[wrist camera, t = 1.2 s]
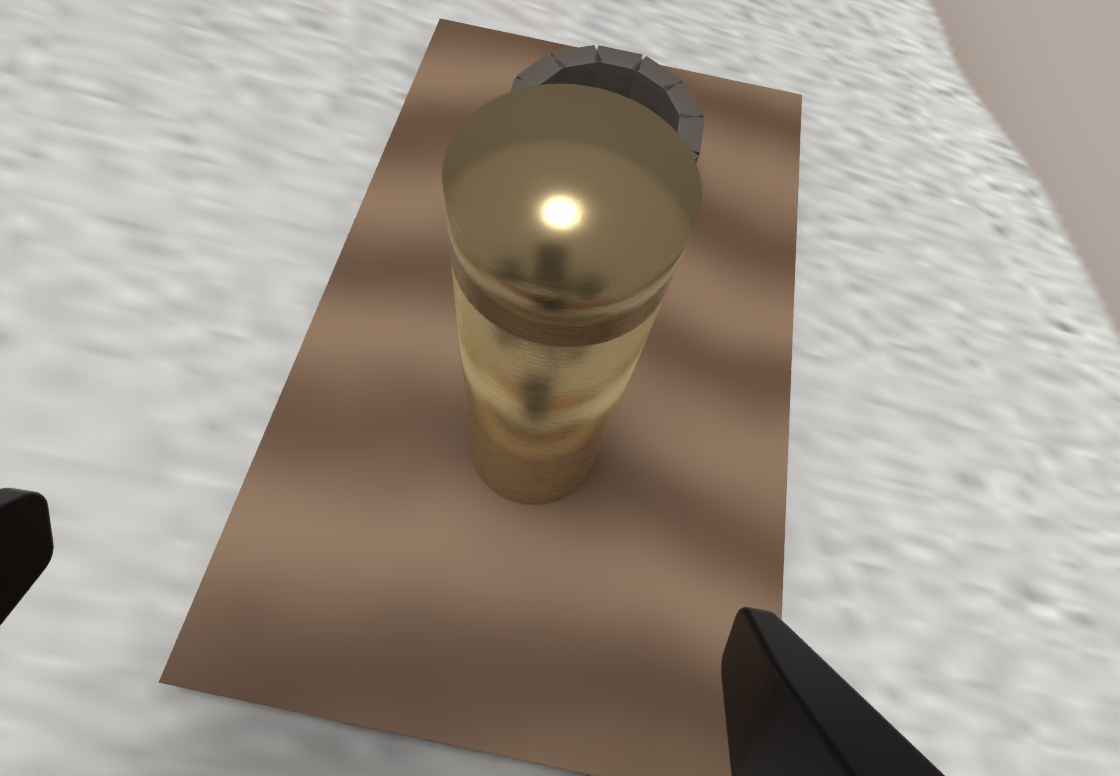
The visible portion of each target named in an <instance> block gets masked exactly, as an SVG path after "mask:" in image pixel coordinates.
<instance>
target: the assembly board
mask: <svg viewBox="0 0 1120 776" xmlns="http://www.w3.org/2000/svg"><path fill="white" fill-rule="evenodd" d="M543 84H577V85H584V86H591V87H595V88H600V89H604V90H608V91H611V92H614V93H617V94H620V95H622V96H625V97H627V98H629V99H632V100H634V101H636V102H638V103H639V104H641V105H643V106H645V107H647V108H648V109H650V110H651V111H653V112H654V113H655V114H657V115H658V116H660V117H661V118H662V119H663V120H664V121H665V122H667V123H668V124H669V125H670V126H671V127H672V128H673V129H674V130H675V131H676V132H677V133H678V135H679V136H680V137H681V138H682V140H683V141H684V142H685V144H686V145H687V147H688V148H689V150H690V152H691V154H692V156H693V158H694V160H695V162H696V165H697V168H698V171H699V175H700V180H701V185H702V200H701V207H700V212H699V215H698V218H697V221H696V224H695V226H694V229H693V231H692V233H691V236H690V238H689V241H688V243H687V245H686V248H685V250H684V252H683V255H682V257H681V259H680V262H679V264H678V267H677V269H676V271H675V274H674V276H673V278H672V281H671V283H670V285H669V288H668V290H667V293H666V295H665V297H664V300H663V302H662V304H661V307H660V309H659V311H658V314H657V316H656V318H655V321H654V323H653V326H652V328H651V330H650V333H649V335H648V337H647V340H646V342H645V344H644V347H643V349H642V352H641V354H640V356H639V359H638V361H637V363H636V366H635V368H634V370H633V373H632V375H631V378H630V380H629V382H628V385H627V387H626V389H625V392H624V394H623V396H622V399H621V401H620V403H619V406H618V408H617V411H616V413H615V415H614V418H613V420H612V422H611V425H610V427H609V429H608V432H607V434H606V437H605V439H604V441H603V444H602V446H601V448H600V451H599V453H598V455H597V458H596V460H595V463H594V465H593V467H592V469H591V471H590V473H589V475H588V477H587V478H586V480H585V481H584V482H583V484H582V485H581V486H580V487H579V488H578V489H577V490H575V491H574V492H573V493H572V494H570V495H568V496H567V497H565V498H563V499H561V500H558V501H556V502H552V503H549V504H543V505H526V504H520V503H516V502H513V501H510V500H508V499H506V498H504V497H502V496H500V495H498V494H497V493H496V492H494V491H493V490H492V489H491V488H490V487H488V486H487V485H486V483H485V482H484V481H483V480H482V479H481V477H480V475H479V474H478V472H477V470H476V468H475V465H474V463H473V459H472V455H471V447H470V438H469V428H468V419H467V410H466V400H465V391H464V381H463V372H462V362H461V353H460V343H459V334H458V325H457V315H456V306H455V296H454V287H453V277H452V268H451V258H450V249H449V239H448V230H447V221H446V211H445V202H444V192H443V183H442V168H443V162H444V157H445V153H446V150H447V147H448V145H449V142H450V140H451V139H452V137H453V135H454V134H455V132H456V130H457V129H458V128H459V127H460V125H461V124H462V123H463V122H464V121H465V119H466V118H468V117H469V116H470V115H471V114H472V113H473V112H474V111H475V110H477V109H478V108H480V107H481V106H483V105H484V104H486V103H487V102H489V101H491V100H493V99H495V98H497V97H499V96H501V95H503V94H506V93H509V92H511V91H514V90H518V89H522V88H526V87H530V86H537V85H543ZM801 105H802V95H800V94H795V93H791V92H786V91H781V90H776V89H772V88H767V87H762V86H757V85H753V84H748V83H743V82H739V81H734V80H729V79H724V78H720V77H715V76H710V75H705V74H701V73H696V72H691V71H686V70H682V69H677V68H672V67H667V66H663V65H659V64H658V63H656V62H655V61H653V60H651V59H650V58H648V57H647V56H646V57H645V58H644V59H642V54H637V53H632V52H628V51H623V50H618V49H613V48H609V47H604V46H599V45H598V49H597V50H596V48H595V46H594V45H592V46H586V47H580V48H577V47H573V46H568V45H563V44H558V43H554V42H549V41H544V40H539V39H535V38H530V37H525V36H520V35H516V34H511V33H506V32H501V31H497V30H492V29H487V28H483V27H478V26H473V25H468V24H464V23H459V22H454V21H449V20H445V19H440V20H439V22H438V25H437V27H436V29H435V32H434V34H433V36H432V39H431V41H430V43H429V46H428V48H427V50H426V53H425V55H424V58H423V60H422V62H421V65H420V67H419V69H418V72H417V74H416V76H415V79H414V81H413V83H412V86H411V88H410V91H409V93H408V95H407V98H406V100H405V102H404V105H403V107H402V109H401V112H400V114H399V117H398V119H397V121H396V124H395V126H394V128H393V131H392V133H391V135H390V138H389V140H388V142H387V145H386V147H385V150H384V152H383V154H382V157H381V159H380V161H379V164H378V166H377V168H376V171H375V173H374V176H373V178H372V180H371V183H370V185H369V187H368V190H367V192H366V194H365V197H364V199H363V201H362V204H361V206H360V209H359V211H358V213H357V216H356V218H355V220H354V223H353V225H352V227H351V230H350V232H349V235H348V237H347V239H346V242H345V244H344V246H343V249H342V251H341V253H340V256H339V258H338V260H337V263H336V265H335V268H334V270H333V272H332V275H331V277H330V279H329V282H328V284H327V286H326V289H325V291H324V293H323V296H322V298H321V301H320V303H319V305H318V308H317V310H316V312H315V315H314V317H313V319H312V322H311V324H310V327H309V329H308V331H307V334H306V336H305V338H304V341H303V343H302V345H301V348H300V350H299V352H298V355H297V357H296V360H295V362H294V364H293V367H292V369H291V371H290V374H289V376H288V378H287V381H286V383H285V386H284V388H283V390H282V393H281V395H280V397H279V400H278V402H277V404H276V407H275V409H274V411H273V414H272V416H271V419H270V421H269V423H268V426H267V428H266V430H265V433H264V435H263V437H262V440H261V442H260V445H259V447H258V449H257V452H256V454H255V456H254V459H253V461H252V463H251V466H250V468H249V470H248V473H247V475H246V478H245V480H244V482H243V485H242V487H241V489H240V492H239V494H238V496H237V499H236V501H235V503H234V506H233V508H232V511H231V513H230V515H229V518H228V520H227V522H226V525H225V527H224V529H223V532H222V534H221V537H220V539H219V541H218V544H217V546H216V548H215V551H214V553H213V555H212V558H211V560H210V562H209V565H208V567H207V570H206V572H205V574H204V577H203V579H202V581H201V584H200V586H199V588H198V591H197V593H196V596H195V598H194V600H193V603H192V605H191V607H190V610H189V612H188V614H187V617H186V619H185V621H184V624H183V626H182V629H181V631H180V633H179V636H178V638H177V640H176V643H175V645H174V647H173V650H172V652H171V655H170V657H169V659H168V662H167V664H166V666H165V669H164V671H163V673H162V676H161V678H160V680H159V683H163V684H168V685H173V686H177V687H182V688H187V689H192V690H196V691H201V692H206V693H210V694H215V695H220V696H224V697H229V698H234V699H238V700H243V701H248V702H252V703H257V704H262V705H266V706H271V707H276V708H280V709H285V710H290V711H294V712H299V713H304V714H308V715H313V716H318V717H322V718H327V719H332V720H336V721H341V722H346V723H350V724H355V725H360V726H364V727H369V728H374V729H378V730H383V731H388V732H392V733H397V734H402V735H406V736H411V737H416V738H420V739H425V740H430V741H434V742H439V743H444V744H448V745H453V746H458V747H462V748H467V749H472V750H476V751H481V752H486V753H490V754H495V755H500V756H504V757H509V758H514V759H518V760H523V761H528V762H532V763H537V764H542V765H546V766H551V767H556V768H560V769H565V770H570V771H574V772H579V773H584V774H588V775H593V776H731V768H730V758H729V748H728V738H727V728H726V718H725V708H724V698H723V688H722V678H721V661H722V655H723V652H724V649H725V646H726V643H727V640H728V637H729V634H730V631H731V628H732V625H733V622H734V619H735V616H736V614H737V612H738V611H739V609H741V608H743V607H751V608H757V609H763V610H769V611H772V612H773V613H775V614H776V615H777V616H778V617H779V618H780V619H782V593H783V567H784V542H785V516H786V490H787V464H788V439H789V413H790V387H791V362H792V336H793V310H794V284H795V259H796V233H797V207H798V182H799V156H800V130H801Z"/></svg>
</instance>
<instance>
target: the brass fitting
mask: <svg viewBox="0 0 1120 776" xmlns="http://www.w3.org/2000/svg"><path fill="white" fill-rule="evenodd" d="M442 183H443V192H444V202H445V211H446V221H447V230H448V239H449V249H450V258H451V268H452V277H453V287H454V296H455V306H456V315H457V325H458V334H459V343H460V353H461V362H462V372H463V381H464V391H465V400H466V410H467V419H468V428H469V438H470V447H471V455H472V459H473V463H474V465H475V468H476V470H477V472H478V474H479V475H480V477H481V479H482V480H483V481H484V482H485V483H486V485H487V486H488V487H490V488H491V489H492V490H493V491H494V492H496V493H497V494H498V495H500V496H502V497H504V498H506V499H508V500H510V501H513V502H516V503H520V504H526V505H543V504H549V503H552V502H556V501H558V500H561V499H563V498H565V497H567V496H568V495H570V494H572V493H573V492H574V491H575V490H577V489H578V488H579V487H580V486H581V485H582V484H583V482H584V481H585V480H586V478H587V477H588V475H589V473H590V471H591V469H592V467H593V465H594V463H595V460H596V458H597V455H598V453H599V451H600V448H601V446H602V444H603V441H604V439H605V437H606V434H607V432H608V429H609V427H610V425H611V422H612V420H613V418H614V415H615V413H616V411H617V408H618V406H619V403H620V401H621V399H622V396H623V394H624V392H625V389H626V387H627V385H628V382H629V380H630V378H631V375H632V373H633V370H634V368H635V366H636V363H637V361H638V359H639V356H640V354H641V352H642V349H643V347H644V344H645V342H646V340H647V337H648V335H649V333H650V330H651V328H652V326H653V323H654V321H655V318H656V316H657V314H658V311H659V309H660V307H661V304H662V302H663V300H664V297H665V295H666V293H667V290H668V288H669V285H670V283H671V281H672V278H673V276H674V274H675V271H676V269H677V267H678V264H679V262H680V259H681V257H682V255H683V252H684V250H685V248H686V245H687V243H688V241H689V238H690V236H691V233H692V231H693V229H694V226H695V224H696V221H697V218H698V215H699V212H700V207H701V200H702V185H701V180H700V175H699V171H698V168H697V165H696V162H695V160H694V158H693V156H692V154H691V152H690V150H689V148H688V147H687V145H686V144H685V142H684V141H683V140H682V138H681V137H680V136H679V135H678V133H677V132H676V131H675V130H674V129H673V128H672V127H671V126H670V125H669V124H668V123H667V122H665V121H664V120H663V119H662V118H661V117H660V116H658V115H657V114H655V113H654V112H653V111H651V110H650V109H648V108H647V107H645V106H643V105H641V104H639V103H638V102H636V101H634V100H632V99H629V98H627V97H625V96H622V95H620V94H617V93H614V92H611V91H608V90H604V89H600V88H595V87H591V86H584V85H577V84H543V85H537V86H530V87H526V88H522V89H518V90H514V91H511V92H509V93H506V94H503V95H501V96H499V97H497V98H495V99H493V100H491V101H489V102H487V103H486V104H484V105H483V106H481V107H480V108H478V109H477V110H475V111H474V112H473V113H472V114H471V115H470V116H469V117H468V118H466V119H465V121H464V122H463V123H462V124H461V125H460V127H459V128H458V129H457V130H456V132H455V134H454V135H453V137H452V139H451V140H450V142H449V145H448V147H447V150H446V153H445V157H444V162H443V168H442Z"/></svg>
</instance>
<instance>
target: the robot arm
mask: <svg viewBox="0 0 1120 776" xmlns="http://www.w3.org/2000/svg"><path fill="white" fill-rule="evenodd" d="M53 548H54V545H53V537H52V530H51V523H50V516H49V509H48V503H47V500H46V499H45V497H44V496H43V495H42V494H40V493H38V492H33V491H27V490H21V489H15V488H2V489H0V625H1V624H2V623H3V621H4V620H5V619H6V618H7V616H8V615H9V614H10V613H11V611H12V610H13V609H14V608H15V606H16V605H17V604H18V603H19V601H20V600H21V599H22V597H23V596H24V595H25V594H26V592H27V591H28V590H29V589H30V587H31V586H32V585H33V584H34V582H35V581H36V580H37V579H38V577H39V576H40V575H41V574H42V572H43V571H44V570H45V568H46V567H47V565H48V564H49V562H50V560H51V557H52V554H53ZM721 678H722V688H723V698H724V708H725V718H726V728H727V738H728V748H729V758H730V768H731V776H945V775H944V774H943V773H942V772H941V771H940V770H938V769H937V768H936V767H935V766H934V765H933V764H932V763H931V762H930V761H929V760H928V759H927V758H926V757H925V756H924V755H923V754H922V753H921V752H920V751H919V750H918V749H916V748H915V747H914V746H913V745H912V744H911V743H910V742H909V741H908V740H907V739H906V738H905V737H904V736H903V735H902V734H901V733H900V732H899V731H898V730H897V729H895V728H894V727H893V726H892V725H891V724H890V723H889V722H888V721H887V720H886V719H885V718H884V717H883V716H882V715H881V714H880V713H879V712H878V711H877V710H876V709H875V708H873V707H872V706H871V705H870V704H869V703H868V702H867V701H866V700H865V699H864V698H863V697H862V696H861V695H860V694H859V693H858V692H857V691H856V690H855V689H854V688H852V687H851V686H850V685H849V684H848V683H847V682H846V681H845V680H844V679H843V678H842V677H841V676H840V675H839V674H838V673H837V672H836V671H835V670H834V669H833V668H832V667H830V666H829V665H828V664H827V663H826V662H825V661H824V660H823V659H822V658H821V657H820V656H819V655H818V654H817V653H816V652H815V651H814V650H813V649H812V648H811V647H809V646H808V645H807V644H806V643H805V642H804V641H803V640H802V639H801V638H800V637H799V636H798V635H797V634H796V633H795V632H794V631H793V630H792V629H791V628H790V627H789V626H787V625H786V624H785V623H784V622H783V621H782V620H781V619H780V618H779V617H778V616H777V615H776V614H775V613H773V612H772V611H769V610H763V609H757V608H751V607H743V608H741V609H739V611H738V612H737V614H736V616H735V619H734V622H733V625H732V628H731V631H730V634H729V637H728V640H727V643H726V646H725V649H724V652H723V655H722V661H721Z"/></svg>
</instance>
